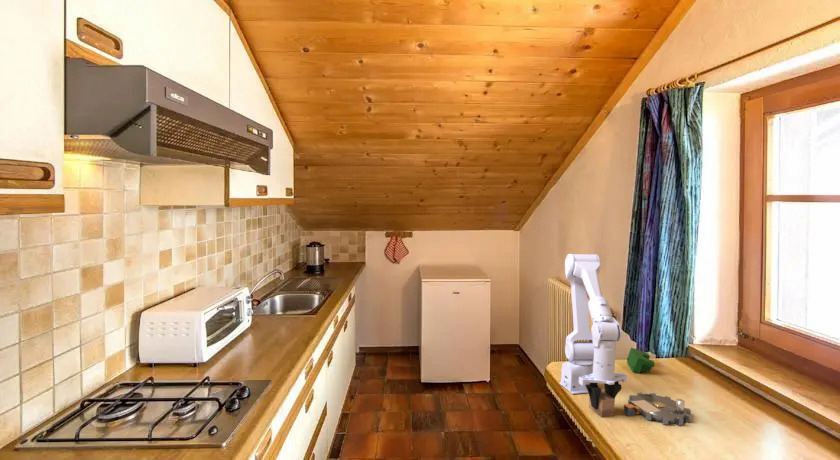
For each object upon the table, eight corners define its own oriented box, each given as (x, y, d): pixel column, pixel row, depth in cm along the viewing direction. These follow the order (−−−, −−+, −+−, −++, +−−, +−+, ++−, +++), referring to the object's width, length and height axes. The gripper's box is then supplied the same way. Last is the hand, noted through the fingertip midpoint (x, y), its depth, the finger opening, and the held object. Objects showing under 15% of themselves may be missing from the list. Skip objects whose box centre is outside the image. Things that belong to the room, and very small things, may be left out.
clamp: (646, 384, 154) (656, 367, 149) (628, 378, 155) (638, 361, 150) (642, 361, 163) (652, 344, 159) (626, 356, 165) (635, 339, 160)
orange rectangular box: (627, 416, 122) (628, 407, 122) (623, 413, 124) (624, 404, 124) (635, 415, 123) (635, 406, 123) (630, 412, 125) (631, 403, 124)
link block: (613, 416, 122) (614, 398, 122) (601, 417, 122) (602, 399, 121) (600, 405, 128) (601, 389, 128) (588, 407, 127) (589, 390, 127)
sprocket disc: (619, 408, 126) (620, 392, 126) (640, 392, 137) (641, 377, 137) (680, 431, 114) (681, 413, 114) (698, 411, 125) (699, 395, 125)
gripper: (590, 369, 118) (587, 416, 119) (635, 365, 121) (632, 411, 122) (575, 359, 125) (573, 403, 126) (618, 356, 128) (616, 399, 129)
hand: (601, 406), depth 125 cm, fingers closed on link block, 4 cm apart
